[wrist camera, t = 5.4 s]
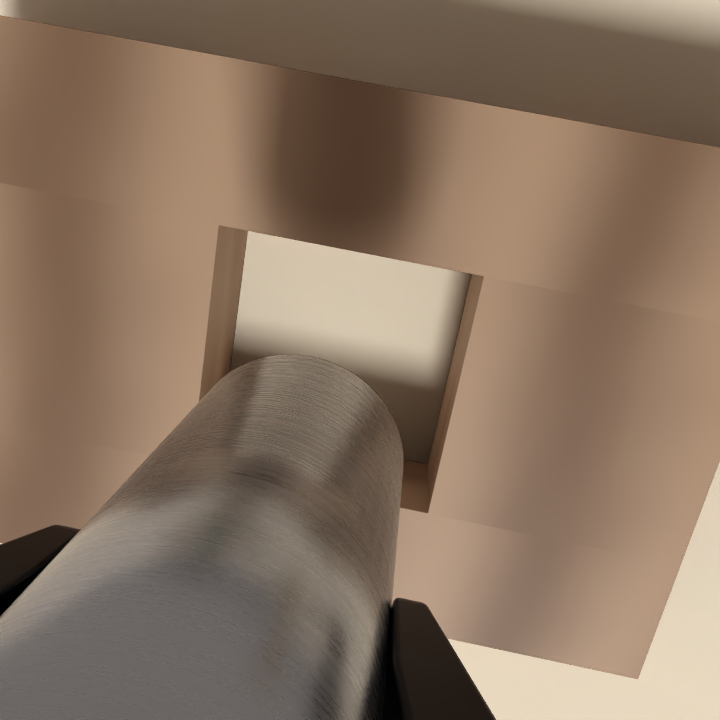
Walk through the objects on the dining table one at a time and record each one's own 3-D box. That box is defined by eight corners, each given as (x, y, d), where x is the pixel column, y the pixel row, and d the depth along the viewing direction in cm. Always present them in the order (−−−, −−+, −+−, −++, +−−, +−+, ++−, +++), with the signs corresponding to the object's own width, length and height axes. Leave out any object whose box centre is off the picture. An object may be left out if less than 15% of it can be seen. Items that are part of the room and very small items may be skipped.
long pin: (424, 379, 12) (400, 1283, 2) (381, 571, 13) (252, 1679, 4) (202, 334, 12) (-653, 1013, 3) (180, 528, 13) (-451, 1481, 4)
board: (764, 165, 18) (829, 167, 15) (610, 610, 22) (638, 679, 19) (24, 29, 18) (-50, 6, 16) (13, 484, 23) (-46, 532, 20)
